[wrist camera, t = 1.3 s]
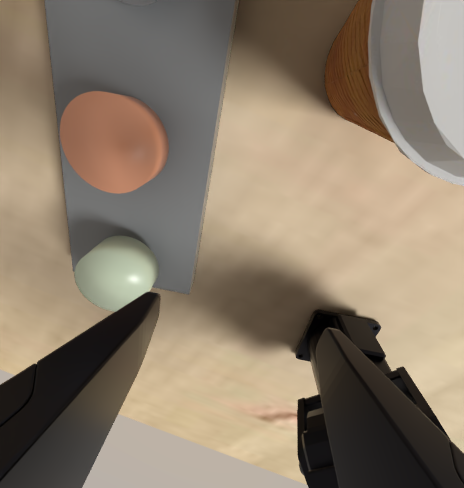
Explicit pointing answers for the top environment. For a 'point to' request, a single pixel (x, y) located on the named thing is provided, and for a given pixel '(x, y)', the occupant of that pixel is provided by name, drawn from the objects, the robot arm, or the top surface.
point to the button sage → (116, 272)
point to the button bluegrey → (138, 2)
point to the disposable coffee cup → (404, 78)
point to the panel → (161, 102)
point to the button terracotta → (113, 141)
